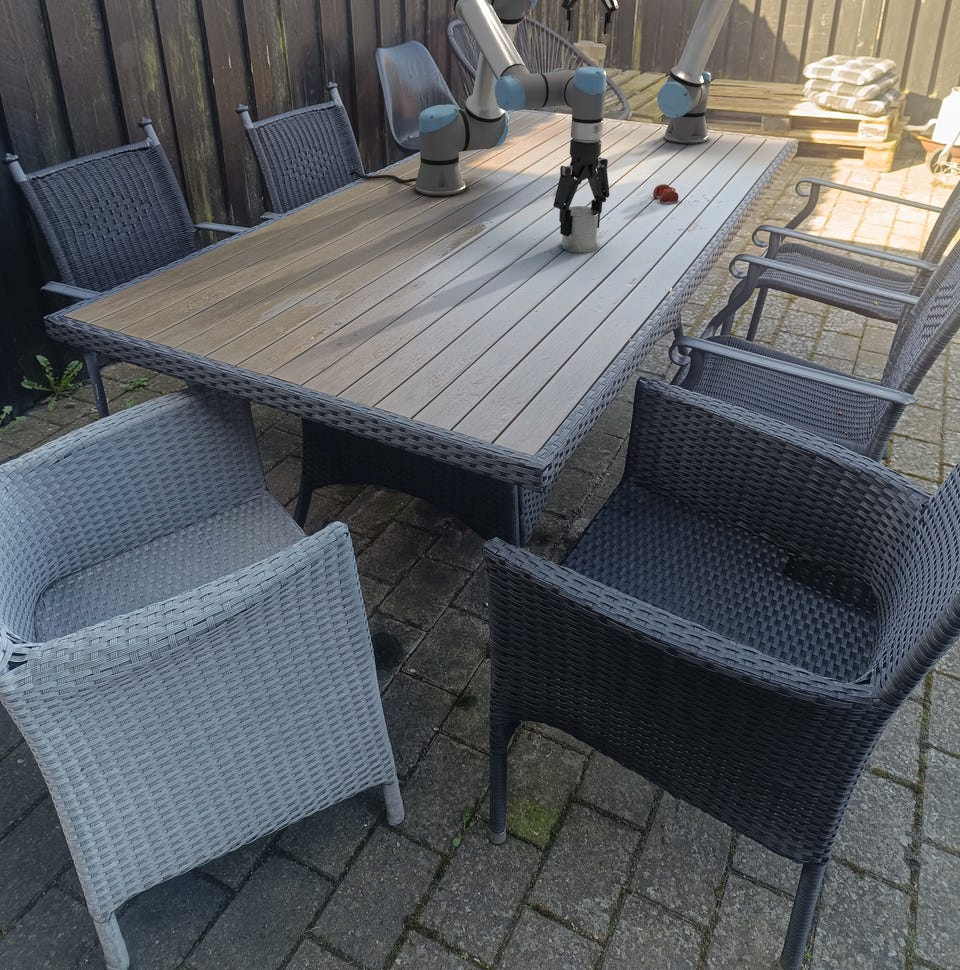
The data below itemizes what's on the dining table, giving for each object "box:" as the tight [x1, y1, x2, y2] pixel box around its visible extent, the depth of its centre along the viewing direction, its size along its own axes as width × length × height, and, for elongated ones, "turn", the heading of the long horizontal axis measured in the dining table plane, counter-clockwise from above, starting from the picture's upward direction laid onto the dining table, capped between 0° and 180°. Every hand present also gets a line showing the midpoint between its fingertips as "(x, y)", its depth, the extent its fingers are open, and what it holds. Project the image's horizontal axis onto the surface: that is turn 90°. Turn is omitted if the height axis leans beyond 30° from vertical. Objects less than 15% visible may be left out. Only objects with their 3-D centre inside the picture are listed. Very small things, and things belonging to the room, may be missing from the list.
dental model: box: [652, 183, 679, 203], centre depth 249 cm, size 6×4×8 cm
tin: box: [561, 205, 598, 254], centre depth 216 cm, size 9×9×9 cm
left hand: (579, 230), depth 216 cm, fingers open, 10 cm apart
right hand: (588, 32), depth 295 cm, fingers open, 13 cm apart
